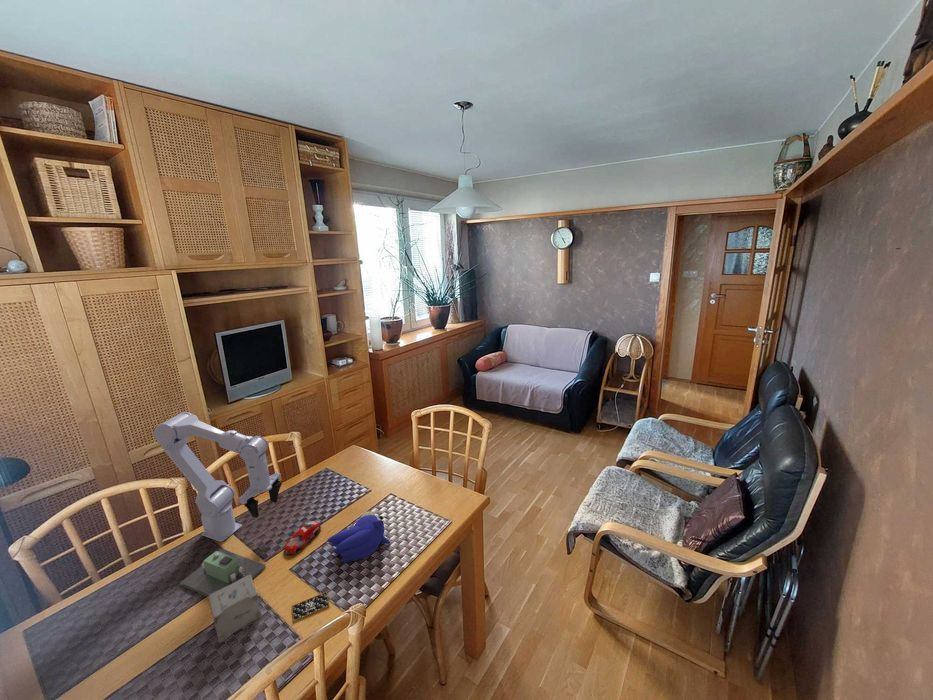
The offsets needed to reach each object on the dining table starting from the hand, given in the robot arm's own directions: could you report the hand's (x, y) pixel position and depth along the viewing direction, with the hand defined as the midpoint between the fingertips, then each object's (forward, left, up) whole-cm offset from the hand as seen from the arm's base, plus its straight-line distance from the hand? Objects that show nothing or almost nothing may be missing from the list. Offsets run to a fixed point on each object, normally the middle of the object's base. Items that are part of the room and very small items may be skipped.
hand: (265, 508), depth 124 cm
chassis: (+2, -18, -9) cm, 20 cm away
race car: (+14, +1, -10) cm, 17 cm away
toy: (+35, +5, -10) cm, 36 cm away
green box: (+2, -18, -8) cm, 20 cm away
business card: (+34, -17, -10) cm, 39 cm away
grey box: (+19, -27, -10) cm, 34 cm away
